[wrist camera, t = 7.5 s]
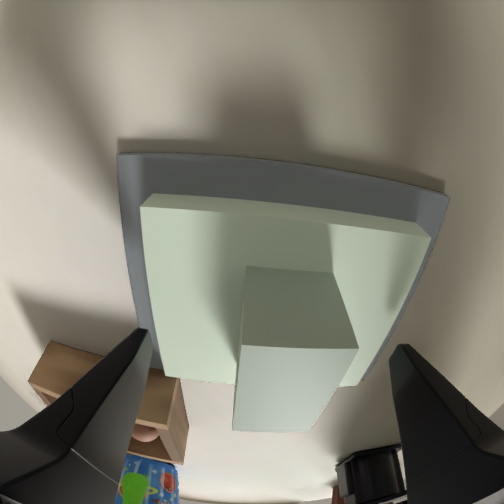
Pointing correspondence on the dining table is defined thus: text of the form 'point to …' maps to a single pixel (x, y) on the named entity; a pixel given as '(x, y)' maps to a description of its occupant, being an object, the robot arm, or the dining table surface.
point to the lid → (274, 298)
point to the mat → (261, 189)
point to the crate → (151, 408)
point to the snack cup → (147, 482)
